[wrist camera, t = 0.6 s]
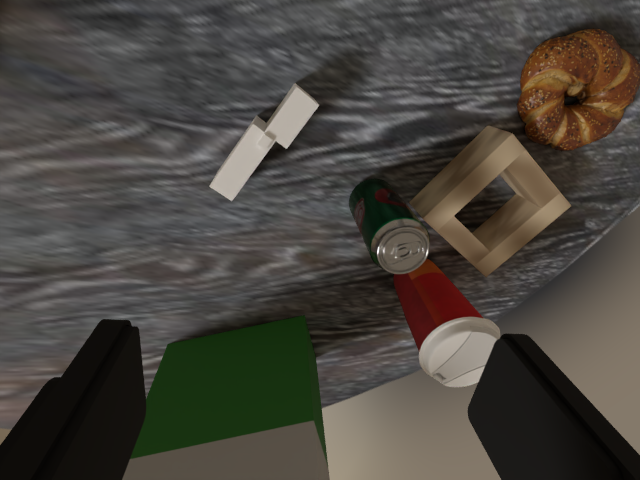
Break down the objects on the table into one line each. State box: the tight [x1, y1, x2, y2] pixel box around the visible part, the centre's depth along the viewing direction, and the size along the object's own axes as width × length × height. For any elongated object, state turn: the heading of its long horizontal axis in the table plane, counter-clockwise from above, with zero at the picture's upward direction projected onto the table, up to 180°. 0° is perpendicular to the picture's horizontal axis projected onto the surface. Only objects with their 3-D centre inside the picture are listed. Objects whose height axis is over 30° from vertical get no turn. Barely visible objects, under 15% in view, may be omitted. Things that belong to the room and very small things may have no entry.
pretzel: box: [517, 28, 640, 151], centre depth 35 cm, size 12×11×4 cm
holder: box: [409, 125, 571, 277], centre depth 39 cm, size 11×11×4 cm
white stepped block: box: [209, 83, 319, 201], centre depth 34 cm, size 15×11×6 cm
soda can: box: [349, 179, 430, 274], centre depth 35 cm, size 5×5×12 cm
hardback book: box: [122, 315, 329, 480], centre depth 37 cm, size 18×7×24 cm, turn 101°
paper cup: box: [393, 259, 500, 387], centre depth 39 cm, size 8×8×14 cm
